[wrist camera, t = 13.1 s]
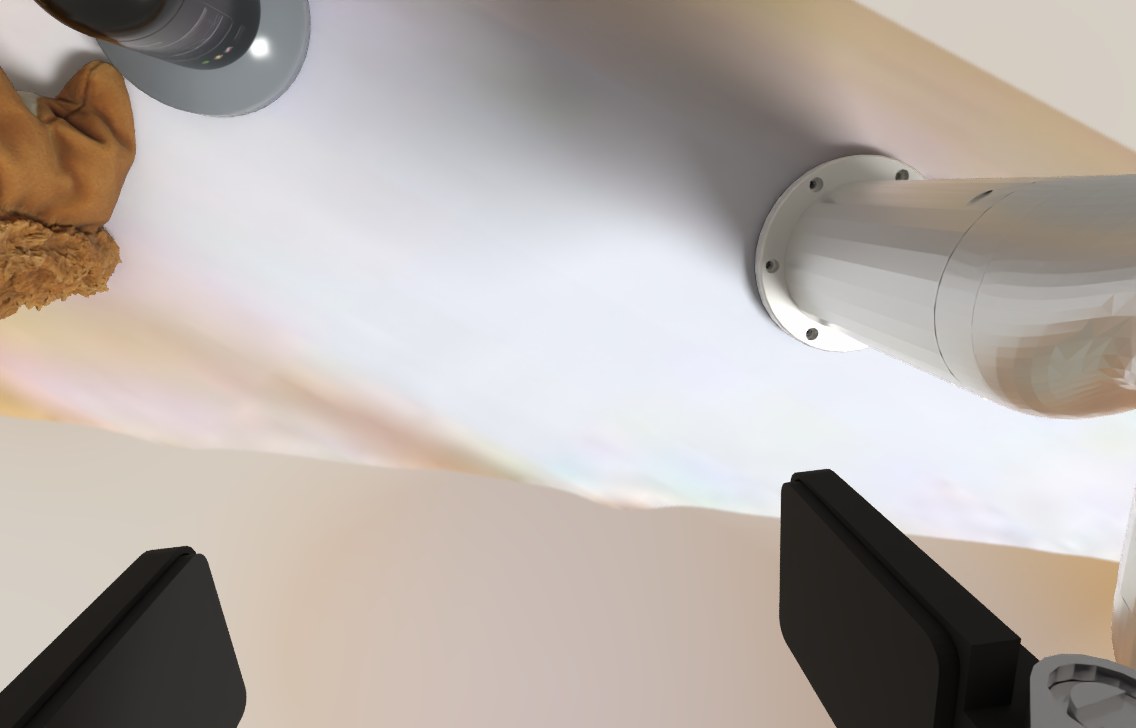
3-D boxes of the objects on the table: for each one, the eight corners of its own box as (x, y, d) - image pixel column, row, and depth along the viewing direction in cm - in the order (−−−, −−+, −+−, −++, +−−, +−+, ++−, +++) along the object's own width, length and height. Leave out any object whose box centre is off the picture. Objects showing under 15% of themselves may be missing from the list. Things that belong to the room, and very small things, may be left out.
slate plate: (286, -116, 32) (275, -130, 30) (328, 109, 35) (320, 105, 34) (70, -102, 31) (48, -116, 30) (132, 125, 34) (115, 122, 33)
